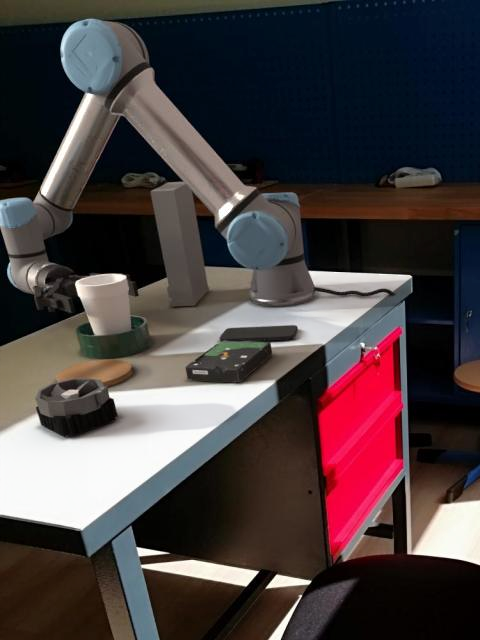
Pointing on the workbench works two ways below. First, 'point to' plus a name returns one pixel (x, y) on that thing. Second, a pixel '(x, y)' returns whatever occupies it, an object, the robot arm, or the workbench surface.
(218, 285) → the workbench surface
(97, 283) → the foam cup
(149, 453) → the workbench surface
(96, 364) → the pot holder
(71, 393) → the cpu cooler
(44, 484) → the workbench surface
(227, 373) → the disk drive
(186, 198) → the tall grey upright pillar
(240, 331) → the phone
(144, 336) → the pot
